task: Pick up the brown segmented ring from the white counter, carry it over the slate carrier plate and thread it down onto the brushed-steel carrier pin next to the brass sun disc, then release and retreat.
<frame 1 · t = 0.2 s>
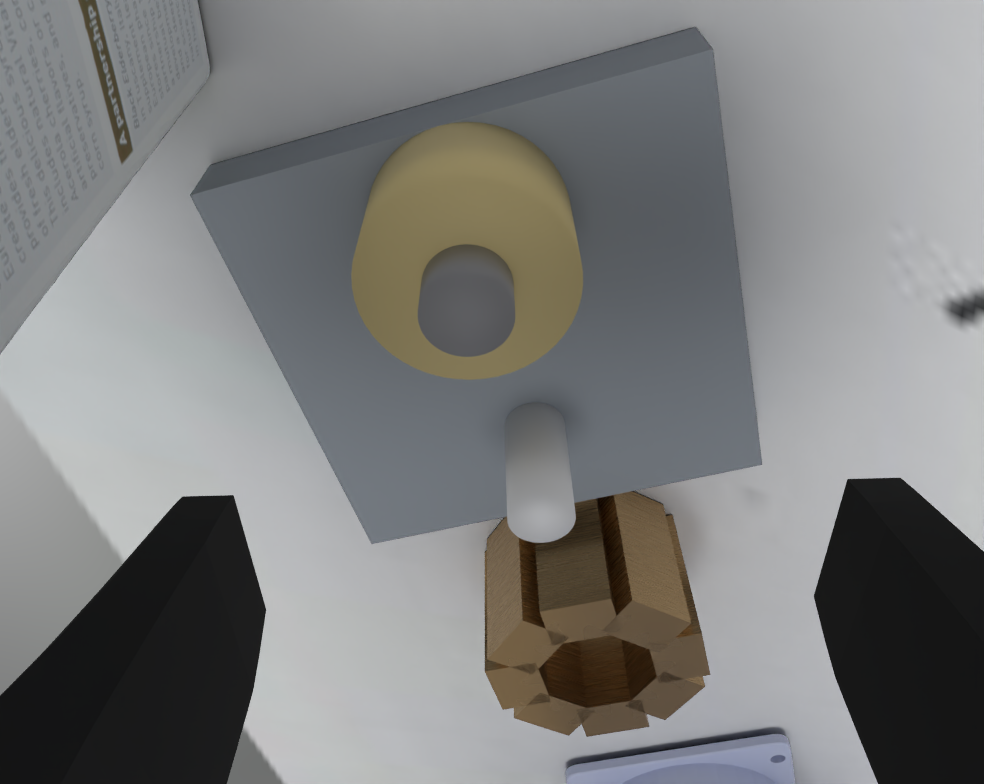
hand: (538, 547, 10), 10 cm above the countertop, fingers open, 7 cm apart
carrier plate: (507, 309, 20), on the countertop
brown segmented ring: (583, 553, 25), on the countertop
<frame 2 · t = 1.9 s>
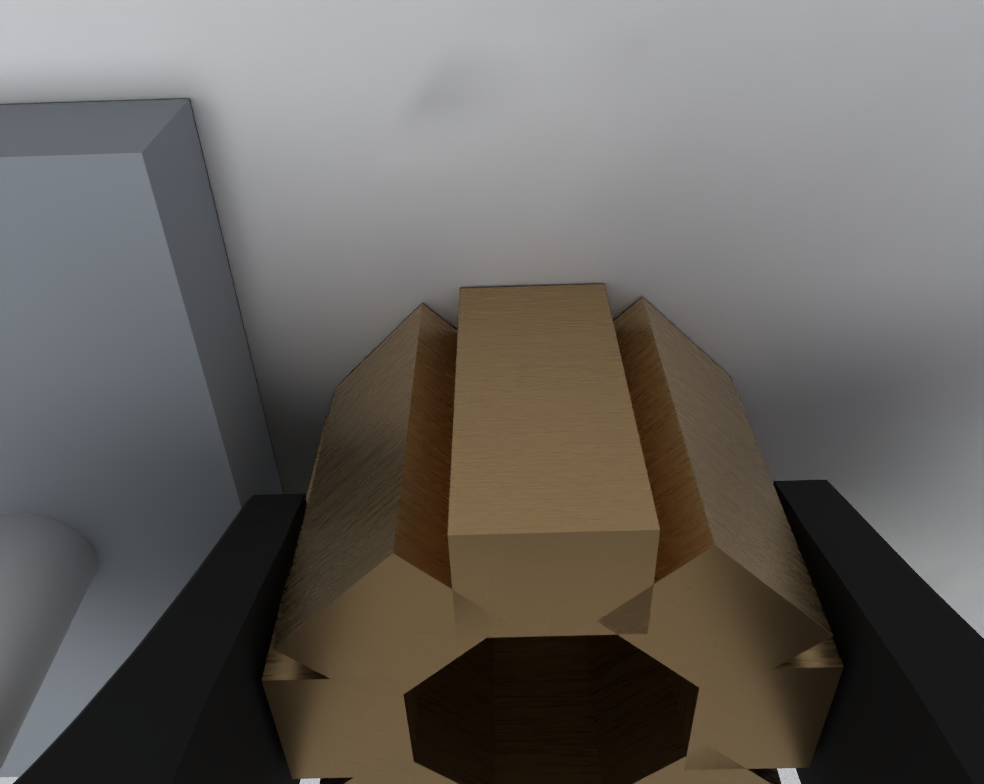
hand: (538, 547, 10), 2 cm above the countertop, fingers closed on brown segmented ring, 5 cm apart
brown segmented ring: (532, 460, 12), on the countertop, touching gripper
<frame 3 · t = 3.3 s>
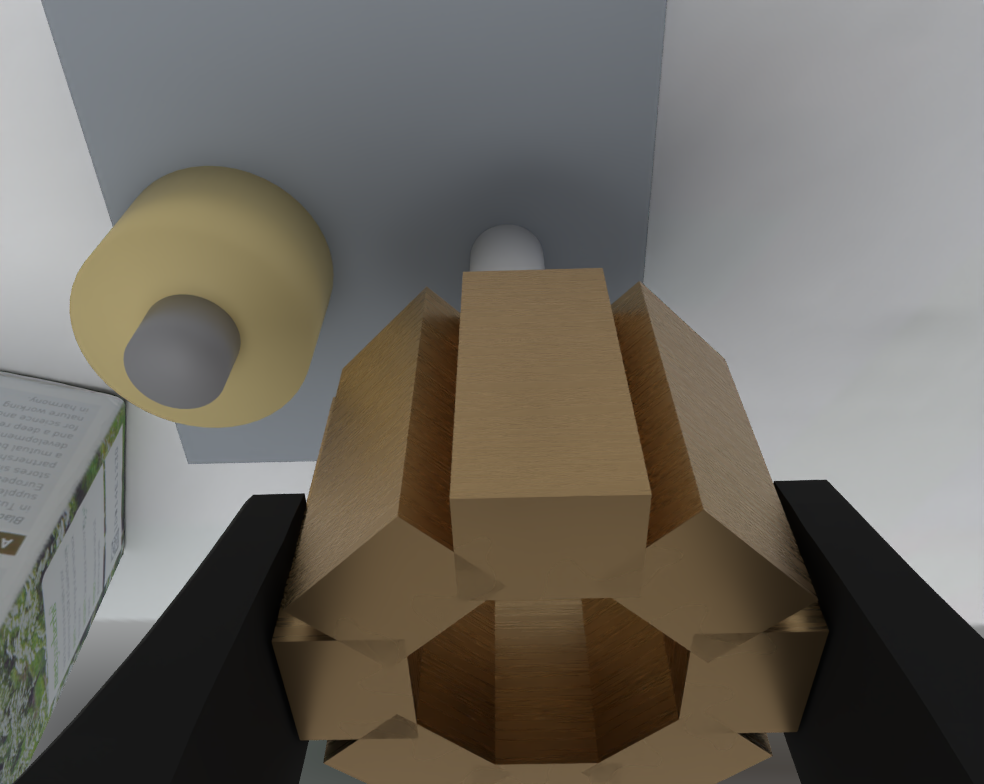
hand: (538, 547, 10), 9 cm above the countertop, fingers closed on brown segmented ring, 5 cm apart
syrup box: (20, 452, 22), on the countertop
carrier plate: (391, 227, 18), on the countertop
brown segmented ring: (533, 440, 12), point 7 cm above the countertop, touching gripper
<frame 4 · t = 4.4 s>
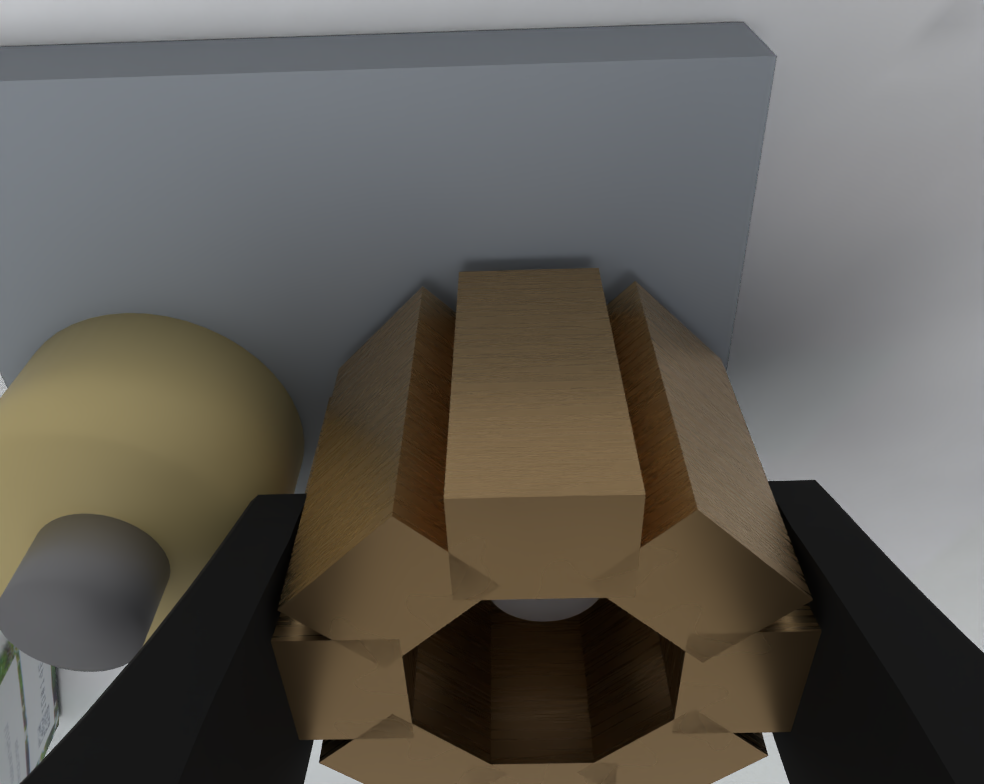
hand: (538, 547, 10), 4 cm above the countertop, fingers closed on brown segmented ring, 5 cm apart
carrier plate: (382, 367, 14), on the countertop
brown segmented ring: (529, 440, 12), point 2 cm above the countertop, touching gripper
when the fingers open (4 cm above the countertop, at t = 4.9 s): brown segmented ring stays where it is, resting on carrier plate.
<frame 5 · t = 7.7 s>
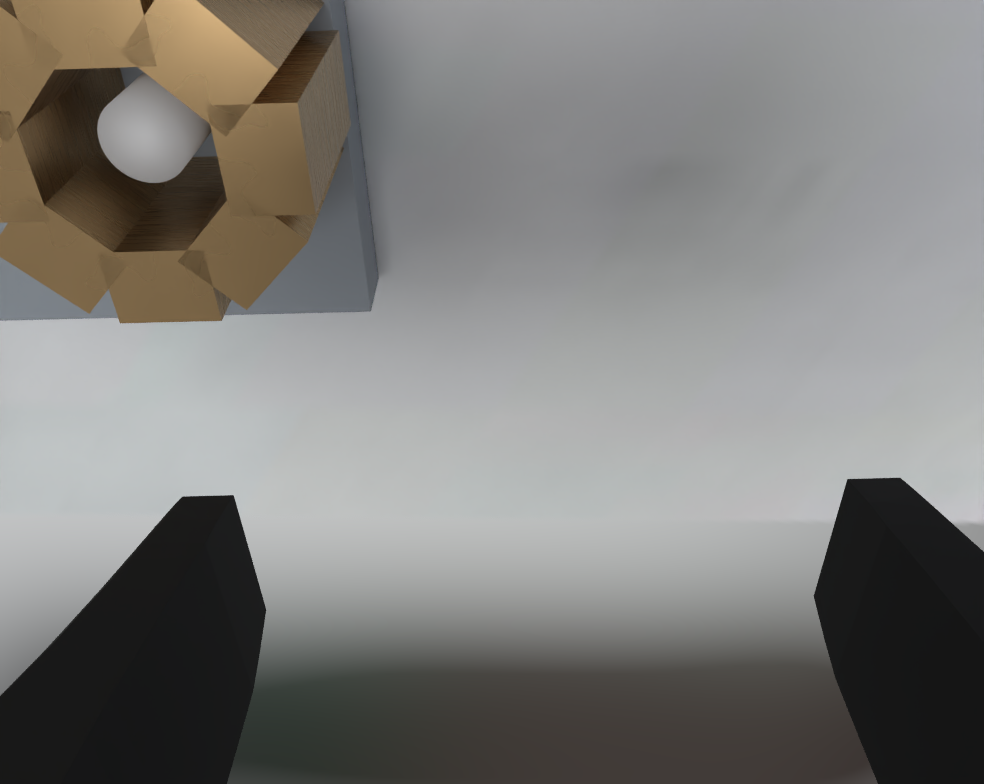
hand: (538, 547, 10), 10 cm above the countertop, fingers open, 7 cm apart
carrier plate: (101, 63, 17), on the countertop
brown segmented ring: (199, 83, 16), point 1 cm above the countertop, touching carrier plate
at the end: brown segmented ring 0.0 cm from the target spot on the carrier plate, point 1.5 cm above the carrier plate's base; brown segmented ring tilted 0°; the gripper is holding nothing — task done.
